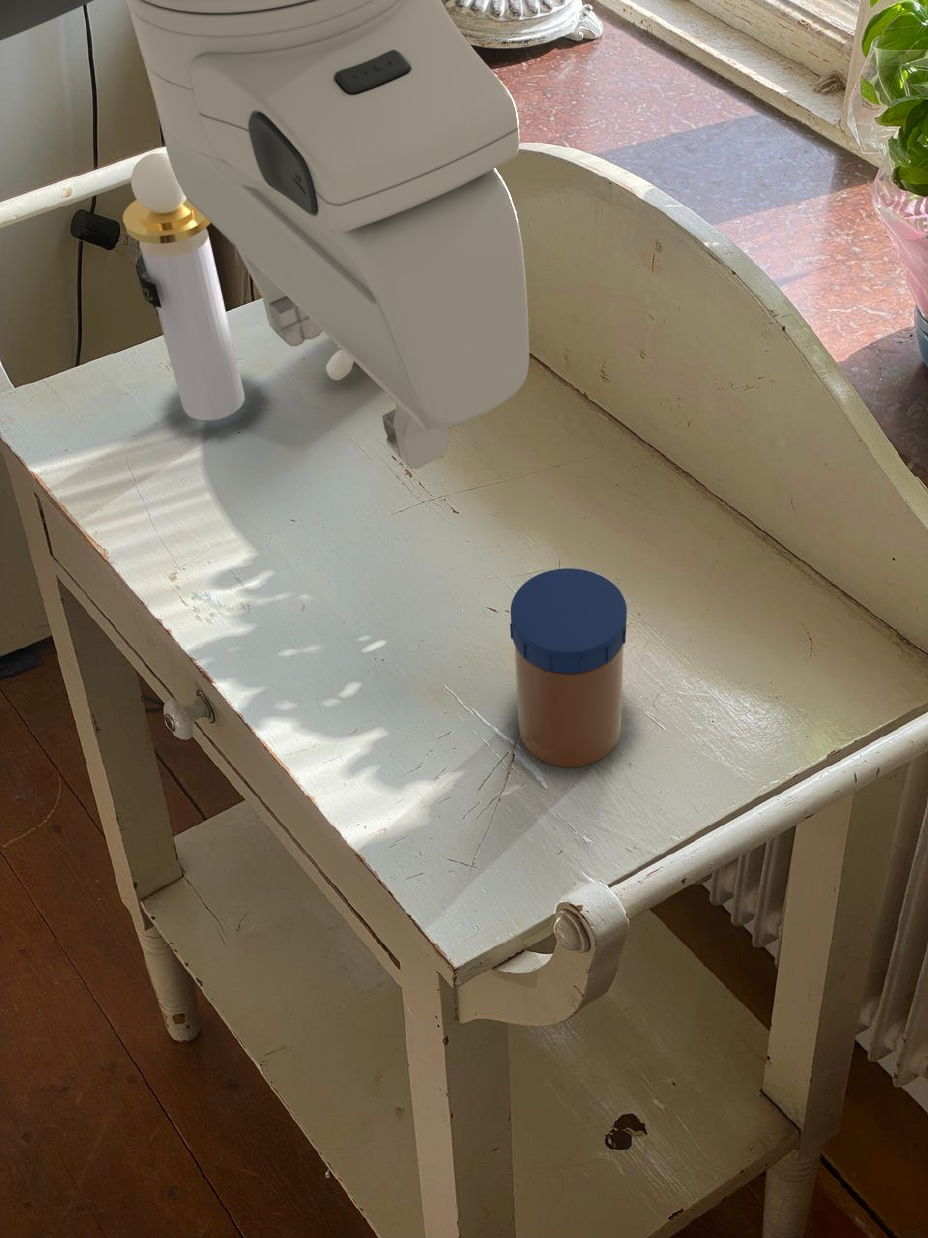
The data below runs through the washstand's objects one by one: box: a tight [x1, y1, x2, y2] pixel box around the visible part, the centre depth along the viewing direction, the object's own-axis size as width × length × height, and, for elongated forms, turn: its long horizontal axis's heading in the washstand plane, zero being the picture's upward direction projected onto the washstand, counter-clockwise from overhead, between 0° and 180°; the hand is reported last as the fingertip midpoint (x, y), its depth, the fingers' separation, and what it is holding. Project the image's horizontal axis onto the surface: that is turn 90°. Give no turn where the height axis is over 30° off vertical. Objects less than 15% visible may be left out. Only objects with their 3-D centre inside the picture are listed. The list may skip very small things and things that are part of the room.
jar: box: [514, 644, 624, 768], centre depth 76 cm, size 6×6×9 cm
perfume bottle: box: [122, 152, 246, 421], centre depth 94 cm, size 6×6×20 cm
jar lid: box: [509, 567, 628, 673], centre depth 72 cm, size 6×6×2 cm
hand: (355, 389), depth 53 cm, fingers open, 8 cm apart
